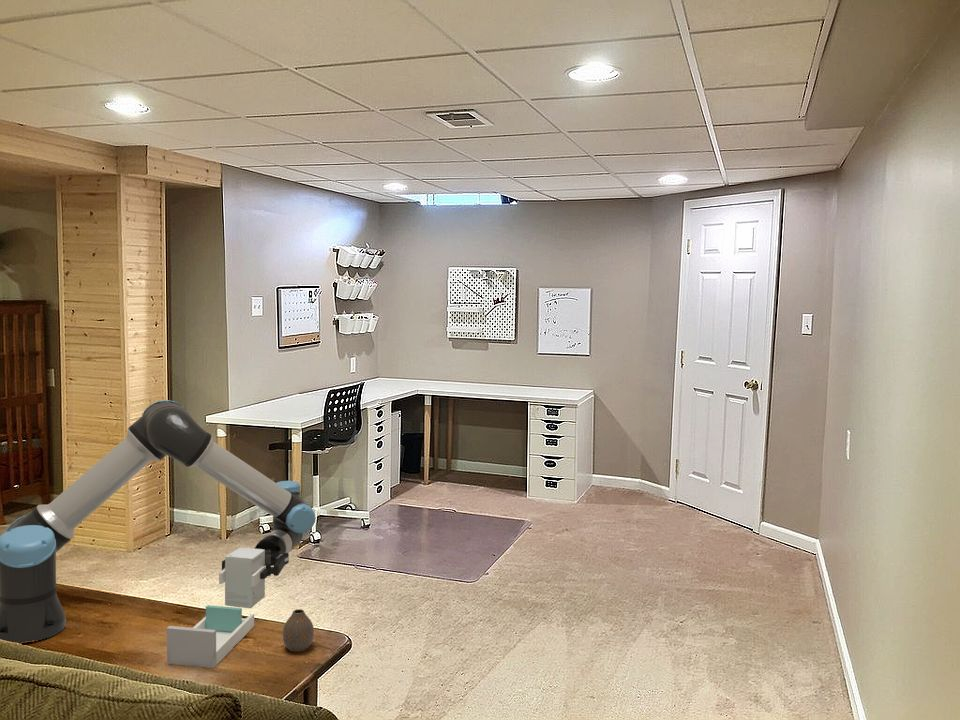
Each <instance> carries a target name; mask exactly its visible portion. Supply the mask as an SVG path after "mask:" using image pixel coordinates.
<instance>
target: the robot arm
mask: <svg viewBox="0 0 960 720" xmlns="http://www.w3.org/2000/svg"><path fill="white" fill-rule="evenodd" d="M126 431H127V432H126V436H125V438H124V439H122V441H121V442H119V443H118V444H117V445H116V446H115V447H113V448H112V449H111V450H110V451H109V452H108V453H107V454H105V455H104V456H103V457H102V458H101V459H99V460H98V462H96V463H95V464H93V466H92V467H90V468H89V469H88V470H87V471H85V472H84V473H83V474H82V475H81V476H79V478H78V479H76V480H75V481H74V482H73V483H71V485H70V486H68V487H67V488H66V489H65V490H63V491H62V492H61V493H60V494H58V495H57V497H55V498H54V499H53V500H52V501H51V502H50V503H48V504H38V505H37V506H35V507H33V509H32V510H31V511H29V512H28V513H27V514H24V515H22V516H20V517H18V518H17V519H16V520H14V521H13V522H12V523H10V524H9V526H8V527H7V528H6V529H5V532H4V533H2V534H1V535H0V639H3V640H7V641H13V642H18V643H22V642H25V641H32V640H35V641H36V640H41V641H43V640H42V639H44V640H46V639H45V638H47V639H49V637H50V638H52V637H54V636H56V635H58V634H59V633H61V632H62V631H63V630H64V629H65V628H66V625H67V623H66V613H65V610H64V609H63V606H62V604H61V602H60V599H59V597H58V595H57V566H56V563H57V562H56V559H57V556H56V555H57V552H59V551H60V550H61V549H62V548H63V547H64V546H65V545H67V543H69V542H70V541H71V540H72V539H73V538H74V536H75V535H74V534H75V528H77V527H78V526H79V525H80V524H81V523H82V522H84V521H85V520H86V519H87V518H88V517H89V516H90V515H91V514H93V512H94V511H96V510H97V509H98V508H99V507H100V506H101V505H103V504H104V503H105V502H106V501H107V500H108V499H110V498H111V496H113V495H114V494H115V493H117V491H119V490H120V489H121V488H122V487H123V486H124V485H126V484H127V483H128V482H129V481H130V480H131V479H132V478H134V476H136V475H137V474H138V473H139V472H140V471H142V470H143V468H145V467H146V466H147V465H148V464H149V463H151V462H160V461H161V460H163V459H164V458H166V456H167V457H169V458H171V459H173V460H174V461H177V462H179V463H181V464H182V465H183V466H186V467H187V468H193V467H195V468H197V470H200V471H201V472H203V473H205V475H207V476H209V477H211V478H212V479H214V480H216V481H217V482H219V483H220V484H222V485H223V486H225V487H226V488H228V489H229V490H231V491H232V492H234V493H236V494H237V495H239V496H240V497H242V498H243V499H245V500H247V501H248V502H250V503H252V504H253V505H255V506H256V507H257V508H260V509H261V510H262V511H264V512H266V513H267V514H269V515H270V516H272V531H270V532H269V533H268V534H267V535H266V536H264V537H263V538H262V539H261V540H260V541H258V543H256V545H255V547H254V549H263V550H265V566H262V567H261V568H259V569H258V570H257V571H256V572H255V573H254V574H253V575H252V576H251V586H253V587H255V586H256V585H257V584H258V583H259V582H260V581H261V580H262V579H265V580H266V578H267V577H270V576H272V575H273V576H275V577H278V576H279V575H280V574H281V572H282V571H283V569H284V567H285V566H286V565H287V564H289V558H290V557H289V556H290V555H289V553H290V552H291V551H292V550H293V549H294V548H296V547H298V546H299V545H300V543H302V541H303V539H304V537H305V533H307V532H308V531H310V530H311V529H312V528H313V527H314V524H315V523H316V513H315V511H314V510H313V507H312V506H311V505H309V504H308V503H307V502H306V501H305V500H304V499H303V498H302V497H301V494H302V491H301V484H300V483H299V482H298V481H296V480H295V481H294V480H281V481H277V482H275V481H274V480H272V479H270V478H269V477H267V476H266V475H265V474H263V473H262V472H261V471H258V470H257V469H255V468H254V467H253V466H251V465H250V464H248V463H246V462H245V461H244V460H242V459H240V458H239V457H237V456H236V455H235V454H233V453H232V452H230V451H228V450H227V449H226V448H224V447H223V446H222V445H219V444H218V443H217V442H215V441H214V438H213V437H214V436H213V435H212V434H210V433H209V432H208V431H206V430H205V429H204V428H203V427H201V426H200V425H199V424H198V423H197V421H195V420H194V418H193V417H192V415H190V412H189V411H188V410H187V408H186V407H185V406H183V405H182V404H181V403H179V402H177V401H173V400H170V399H169V400H168V399H162V400H158V401H155V402H153V403H151V404H150V405H149V406H147V407H146V408H145V410H144V411H143V412H142V414H141V416H140V417H139V418H138V419H136V421H134V422H133V423H132V424H131V425H130V426H129V427H127V430H126ZM218 584H219V585H223V584H225V559H224V560H221V571H220V572H219V573H218ZM64 627H65V628H64Z"/></svg>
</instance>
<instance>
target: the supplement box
mask: <svg viewBox="0 0 960 720" xmlns="http://www.w3.org/2000/svg"><path fill="white" fill-rule="evenodd" d="M224 560H225V582H224V605H225V606H226V607H235V608H242V609H243V608H245V609H252V608H254V606H255V605H257V604H258V603H259V602H260V601H261V600H263V599H265V596H266V595H265V594H266V593H265V592H266V578H265V579H262V580H261V581H260V582H259V583H258V584H257V585H256V586H255V587H253V586H251V576H252V575H253V574H254V573H255V572H256V571H257V570H258V569H259V568H261V567H262V566H265V550H263V549H255V547H254V548H253V547H240V546H239V547H238V548H236V549H234V550H233V551H231V552H230V553H228V554H227V555H226V556H224ZM265 567H266V566H265Z"/></svg>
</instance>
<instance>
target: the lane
mask: <svg viewBox="0 0 960 720" xmlns="http://www.w3.org/2000/svg"><path fill="white" fill-rule="evenodd" d="M254 627H255V614H254V613H249V615H248V616H247V617H245V618H243V617H242V623H241V624H240V625H239V626H238V627H237V628H236V629H235V630H234V631H233V632H229V631H218V630H211V629H206V615H205V616H203V618H202V619H201V620H200V621H199V622H197V623H196V624H195V625H194V626H193V627H186V626H176V625H169V626H167V628H166V663H167V665H177V666H187V667H188V666H189V667H195V668H196V667H197V668H198V667H199V668H209V669H215V668H216V666H217V665H218V664H219V663H220V662H221V661H222V660H224V658H225V657H226V656H227V655H228V654H229V653H230V652H231V651H232V650H233V649H234V648H235V647H236V646H237V645H238V644H239V643H240V641H242V639H243V638H245V636H246V635H247V634H248V633H249V632H250V631H251V630H252V629H253V628H254ZM236 644H237V645H236ZM235 645H236V646H235ZM234 646H235V647H234ZM233 647H234V648H233Z"/></svg>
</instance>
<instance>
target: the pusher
mask: <svg viewBox="0 0 960 720" xmlns="http://www.w3.org/2000/svg"><path fill="white" fill-rule="evenodd" d="M242 611H243V608H242V607H234V606H220V605H218V606H217V605H210V604H209V605H208V604H207V605H206V606H205V616H206V629H211V630H218V631H229V632H233V631H234V630H235V629H236V628H237V627H238V626H239V625H240V624H241V623H242V618H243V615H242V614H243V612H242Z"/></svg>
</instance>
